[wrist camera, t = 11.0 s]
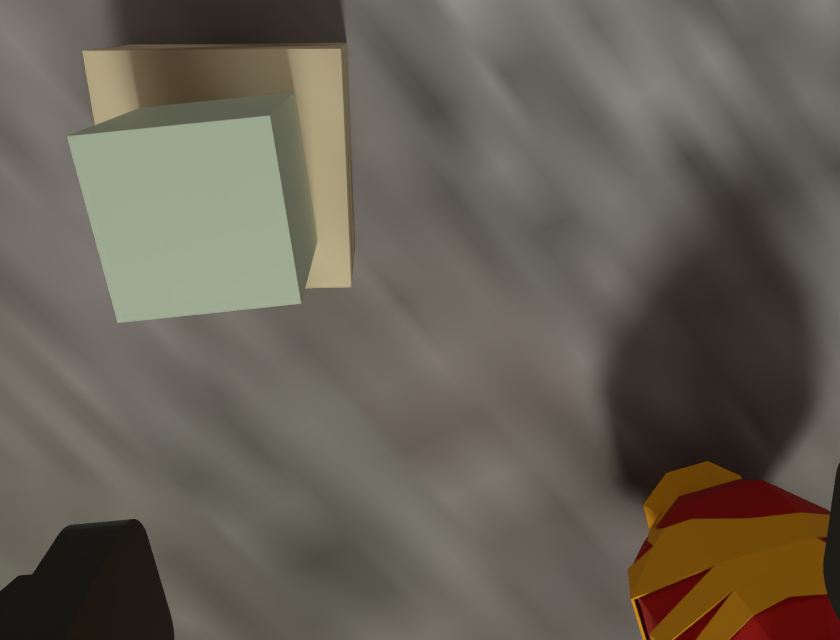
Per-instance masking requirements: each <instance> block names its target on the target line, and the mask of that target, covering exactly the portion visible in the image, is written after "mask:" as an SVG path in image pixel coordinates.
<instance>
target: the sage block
mask: <svg viewBox="0 0 840 640" xmlns="http://www.w3.org/2000/svg"><path fill="white" fill-rule="evenodd" d="M67 138H68V142H69V145H70V149H71V153H72V156H73V160H74V164H75V168H76V171H77V175H78V179H79V182H80V186H81V190H82V193H83V197H84V201H85V204H86V208H87V212H88V215H89V219H90V223H91V226H92V230H93V234H94V237H95V241H96V245H97V248H98V252H99V256H100V259H101V263H102V267H103V270H104V274H105V278H106V281H107V285H108V289H109V293H110V296H111V300H112V304H113V307H114V311H115V315H116V318H117V322H118V323H121V322H131V321H140V320H150V319H159V318H169V317H178V316H188V315H197V314H207V313H216V312H226V311H235V310H245V309H254V308H264V307H273V306H283V305H292V304H301V302H302V299H303V295H304V291H305V287H306V283H307V280H308V276H309V272H310V268H311V265H312V261H313V257H314V253H315V249H316V246H317V242H318V240H317V233H316V227H315V220H314V213H313V207H312V200H311V194H310V187H309V180H308V174H307V167H306V161H305V154H304V147H303V141H302V134H301V128H300V121H299V114H298V108H297V101H296V95H295V92H289V93H279V94H269V95H259V96H249V97H240V98H230V99H220V100H210V101H200V102H190V103H181V104H171V105H161V106H151V107H141V108H137V109H135V110H132V111H130V112H127V113H125V114H122V115H120V116H117V117H115V118H112V119H110V120H107V121H104V122H102V123H99V124H97V125H94V126H92V127H89V128H87V129H84V130H82V131H79V132H77V133H74V134H71V135H69V136H67Z"/></svg>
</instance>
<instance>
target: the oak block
mask: <svg viewBox="0 0 840 640" xmlns="http://www.w3.org/2000/svg"><path fill="white" fill-rule="evenodd" d="M82 52H83V57H84V63H85V69H86V75H87V81H88V87H89V93H90V99H91V105H92V110H93V116H94V122H95V125H97V124H99V123H102V122H104V121H107V120H110V119H112V118H115V117H117V116H120V115H122V114H125V113H127V112H130V111H132V110H135V109H137V108H141V107H151V106H161V105H171V104H181V103H190V102H200V101H210V100H220V99H230V98H240V97H249V96H259V95H269V94H279V93H289V92H295V95H296V101H297V108H298V114H299V121H300V128H301V134H302V141H303V147H304V154H305V161H306V167H307V174H308V180H309V187H310V194H311V200H312V207H313V213H314V220H315V227H316V233H317V240H318V242H317V246H316V249H315V253H314V257H313V261H312V265H311V268H310V272H309V276H308V280H307V283H306V287H305V288H330V287H351V285H352V274H353V264H354V253H355V235H354V211H353V186H352V162H351V137H350V112H349V88H348V63H347V43H254V44H129V45H122V46H114V47H107V48H99V49H92V50H84V51H82Z"/></svg>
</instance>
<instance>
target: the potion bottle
mask: <svg viewBox="0 0 840 640" xmlns="http://www.w3.org/2000/svg"><path fill="white" fill-rule="evenodd" d="M643 506H644V510H645V514H646V519H647V523H648V527H649V535H648V537H647V538H646V540H645V541H644V543H643V545H642V547H641V549H640V551H639V553H638V555H637V557H636V559H635V561H634V563H633V565H632V566H631V567H630V568H629V569H628V577H629V587H630V597H631V602H632V605H633V608H634V611H635V615H636V618H637V621H638V625H639V628H640V631H641V635H642V638H643V640H840V620H839V619H838V617H837V615H836V613H835V612H834V610H833V607H832V605H831V603H830V600H829V597H828V594H827V590H826V587H825V582H824V574H823V560H824V553H825V546H826V539H827V532H828V526H829V519H830V511H828V510H827V509H825V508H822V507H820V506H818V505H816V504H814V503H811V502H809V501H807V500H805V499H803V498H801V497H798V496H796V495H794V494H792V493H790V492H787V491H785V490H783V489H781V488H779V487H777V486H774V485H772V484H770V483H768V482H766V481H763V480H748V479H741V476H740V475H738V474H735V473H733V472H731V471H729V470H727V469H724V468H722V467H720V466H718V465H716V464H713V463H711V462H709V461H706V462H702V463H699V464H695V465H692V466H688V467H685V468H682V469H678V470H675V471H671V472H668V473H666V474H665V476H664V477H663V478H662V480H661V481H660V482H659V484H658V485H657V486H656V488H655V489H654V490H653V492H652V493H651V494H650V496H649V497H648V498H647V500H646V501H645V503H644V504H643ZM638 598H639V601H640V603H639V601H638ZM640 604H641V605H640Z"/></svg>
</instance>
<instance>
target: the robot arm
mask: <svg viewBox="0 0 840 640" xmlns="http://www.w3.org/2000/svg"><path fill="white" fill-rule="evenodd" d="M823 574H824V582H825V587H826V590H827V594H828V597H829V600H830V603H831V605H832V607H833V610H834V612H835V613H836V615H837V617H838V619H839V620H840V463H839V466H838V468H837V472H836V478H835V485H834V492H833V498H832V505H831V512H830V519H829V526H828V532H827V539H826V546H825V553H824V560H823ZM0 640H174V629H173V622H172V618H171V614H170V611H169V607H168V604H167V601H166V597H165V594H164V590H163V587H162V584H161V580H160V577H159V573H158V570H157V567H156V563H155V560H154V556H153V553H152V550H151V546H150V543H149V539H148V536H147V533H146V530H145V528H144V527H143V525H142V524H141V522H139V521H138V520H136V519H129V520H118V521H108V522H97V523H86V524H75V525H69V526H67V527H65V528H64V529H63V530H62V531H61V532H60V533H59V535H58V536H57V538H56V539H55V541H54V542H53V544H52V545H51V547H50V548H49V550H48V551H47V553H46V554H45V556H44V558H43V559H42V561H41V562H40V564H39V565H38V567H37V568H36V570H35V571H34V573H33V574H31V575H21V576H18V577H16V578H15V579H14V580H13V581H12V582H10V583H9V584H8V585H7V586H6V587H5V588H3V589H2V590H1V591H0Z"/></svg>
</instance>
